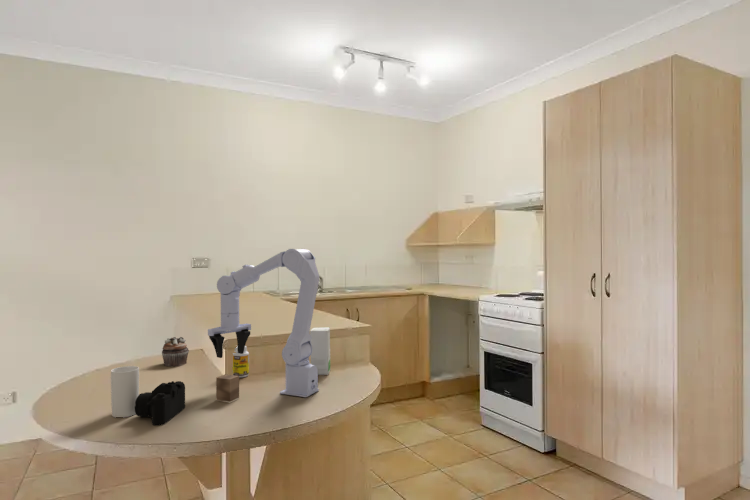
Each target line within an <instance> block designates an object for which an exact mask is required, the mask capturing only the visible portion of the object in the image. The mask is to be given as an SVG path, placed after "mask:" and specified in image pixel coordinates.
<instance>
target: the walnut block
mask: <svg viewBox="0 0 750 500" xmlns="http://www.w3.org/2000/svg"><path fill="white" fill-rule="evenodd" d="M215 380H216V381H215V383H216V386H215V391H216V392H215V394H216V396H215V399H216V401H218V402H224V403H229V404H230V403H232V402H235V401H237V400H239V399H240V378H239V376H236V375H232V374H229V373H228V374H227V373H226V374H222V375H219V376H217V377H216V378H215Z"/></svg>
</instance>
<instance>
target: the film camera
mask: <svg viewBox="0 0 750 500" xmlns="http://www.w3.org/2000/svg"><path fill="white" fill-rule="evenodd" d="M185 408H186V385H185V382H183V381H180V380H179V381H178V380H176V381H174V380H173V381H171V382H170V381H168V382H162V383H160V384H159V385H157V386H156V387H155V388H154V389H153V390H152V391H150V392H149V391H148V392H141V393H139V396H138V397H137V399H136V401H135V413H136V414H135V415H136V416H138V417H139V416H140V417H141V418H145V417H146V418H151V425H152V426H157V427H159V426H163V425H166V424H167V423H168V422H169V421H171V420H172V419H173V418H175V417H177V415H179V414H180V413H181V412H183V410H185Z"/></svg>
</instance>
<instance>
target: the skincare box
mask: <svg viewBox="0 0 750 500" xmlns="http://www.w3.org/2000/svg"><path fill="white" fill-rule="evenodd" d="M309 333H310V335H311V337H312V339H311V344H312V353H311V355H310V364H312V365H315V366H316V367H317V370H318V376H328V375H329V374H330V371H331V328H330V327H325V326H324V327H312V328H310V332H309Z"/></svg>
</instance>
